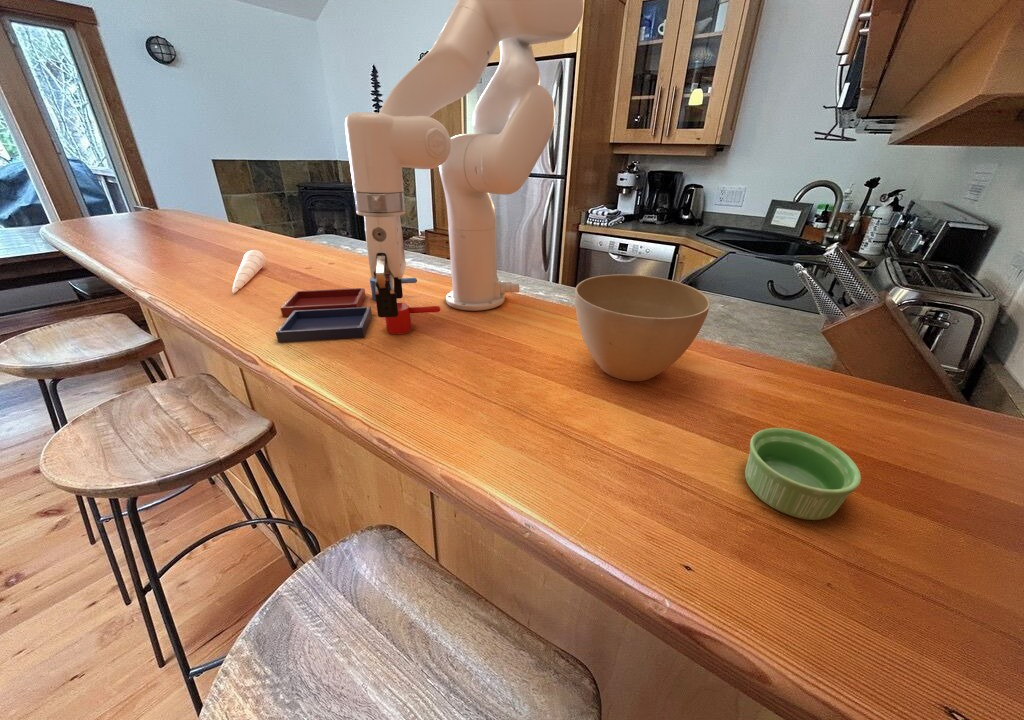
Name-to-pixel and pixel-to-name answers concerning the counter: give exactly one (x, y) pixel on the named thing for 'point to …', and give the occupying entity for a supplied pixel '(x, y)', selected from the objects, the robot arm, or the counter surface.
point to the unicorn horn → (248, 268)
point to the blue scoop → (403, 280)
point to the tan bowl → (638, 322)
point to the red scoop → (405, 318)
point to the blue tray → (325, 324)
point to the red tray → (323, 300)
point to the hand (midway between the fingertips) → (391, 306)
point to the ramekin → (799, 473)
